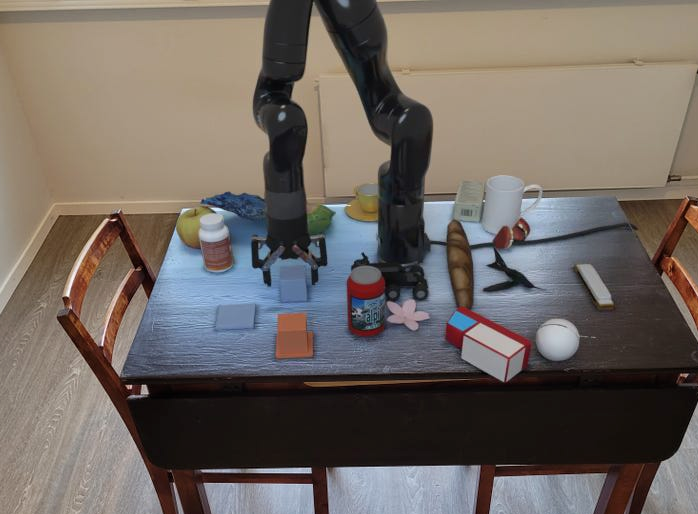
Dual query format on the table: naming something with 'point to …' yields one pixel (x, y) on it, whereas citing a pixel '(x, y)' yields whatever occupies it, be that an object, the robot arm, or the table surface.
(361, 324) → the beverage can
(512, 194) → the mug
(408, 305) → the flower
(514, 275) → the bird model
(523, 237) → the dentures model
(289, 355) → the terracotta mat
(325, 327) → the table surface
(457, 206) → the cosmetic box
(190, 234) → the apple
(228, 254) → the pill bottle
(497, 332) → the toy truck
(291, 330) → the terracotta block
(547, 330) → the seamed sphere
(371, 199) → the cup
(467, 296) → the bread
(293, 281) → the slate-blue block
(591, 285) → the harmonica
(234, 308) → the slate-blue mat
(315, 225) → the educational model
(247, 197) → the rock
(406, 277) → the toy vehicle
